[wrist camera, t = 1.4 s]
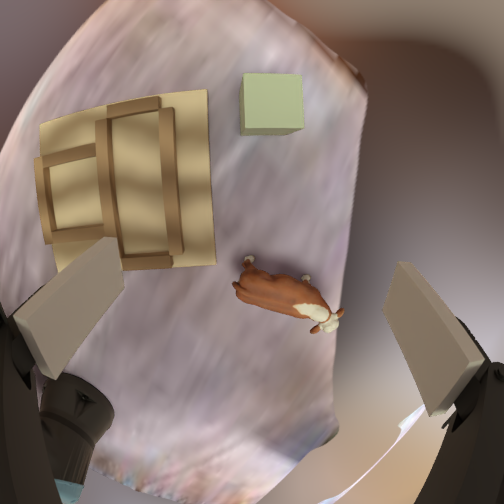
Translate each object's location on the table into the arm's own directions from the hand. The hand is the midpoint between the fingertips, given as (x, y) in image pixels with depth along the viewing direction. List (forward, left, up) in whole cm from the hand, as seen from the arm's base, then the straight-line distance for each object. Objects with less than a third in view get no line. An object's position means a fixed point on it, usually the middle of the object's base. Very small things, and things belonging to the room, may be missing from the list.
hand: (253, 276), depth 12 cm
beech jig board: (+3, +14, -20) cm, 25 cm away
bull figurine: (-10, -5, -21) cm, 23 cm away
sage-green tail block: (+10, -3, -20) cm, 23 cm away
